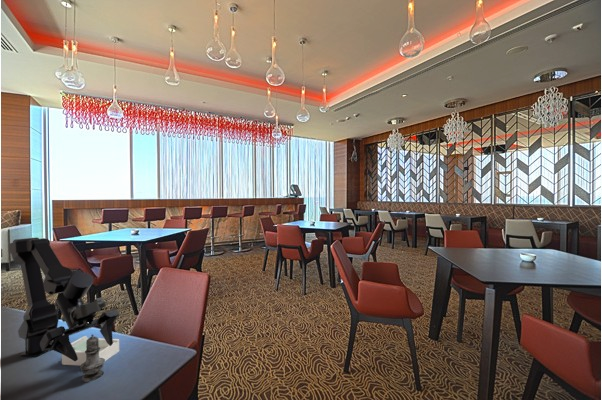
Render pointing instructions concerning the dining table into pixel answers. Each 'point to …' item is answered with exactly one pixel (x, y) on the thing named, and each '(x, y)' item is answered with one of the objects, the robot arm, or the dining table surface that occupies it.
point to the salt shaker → (92, 360)
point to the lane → (104, 351)
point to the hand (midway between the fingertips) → (94, 352)
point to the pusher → (81, 346)
